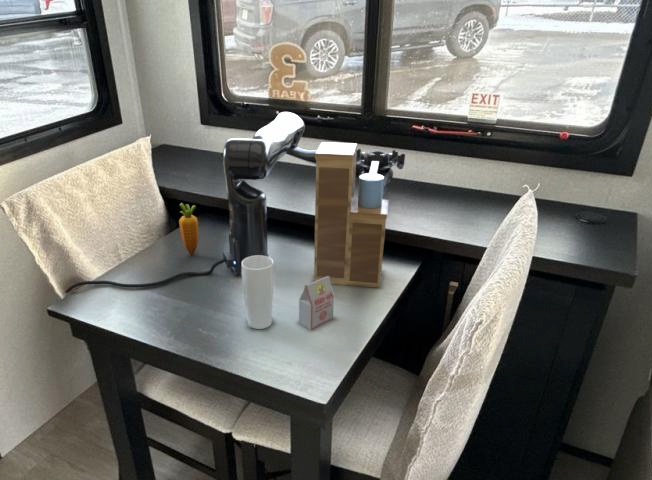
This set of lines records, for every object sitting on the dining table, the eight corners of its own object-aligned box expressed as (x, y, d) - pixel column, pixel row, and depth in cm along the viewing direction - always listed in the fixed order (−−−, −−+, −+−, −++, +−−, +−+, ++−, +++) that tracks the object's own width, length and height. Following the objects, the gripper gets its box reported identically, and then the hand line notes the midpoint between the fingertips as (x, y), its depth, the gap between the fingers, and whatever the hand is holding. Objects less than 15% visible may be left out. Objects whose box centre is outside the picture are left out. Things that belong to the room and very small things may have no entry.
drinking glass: (272, 333, 116) (270, 270, 109) (241, 330, 118) (237, 268, 110) (278, 316, 122) (276, 256, 115) (248, 314, 123) (245, 253, 116)
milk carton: (299, 322, 120) (299, 282, 115) (321, 312, 124) (322, 272, 118) (310, 329, 117) (311, 289, 112) (333, 318, 121) (334, 278, 116)
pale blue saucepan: (381, 209, 125) (383, 181, 122) (356, 207, 126) (358, 179, 123) (384, 184, 140) (387, 158, 137) (362, 182, 141) (364, 157, 138)
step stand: (380, 288, 132) (392, 156, 116) (312, 282, 135) (315, 153, 119) (382, 270, 140) (393, 144, 124) (318, 265, 143) (321, 141, 127)
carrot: (204, 253, 151) (200, 202, 143) (193, 261, 147) (187, 208, 140) (190, 250, 153) (185, 198, 146) (179, 256, 150) (172, 204, 142)
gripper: (352, 153, 153) (348, 137, 138) (404, 155, 151) (407, 139, 135) (350, 180, 154) (346, 167, 138) (402, 183, 151) (404, 169, 135)
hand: (376, 153), depth 136 cm, fingers open, 8 cm apart
